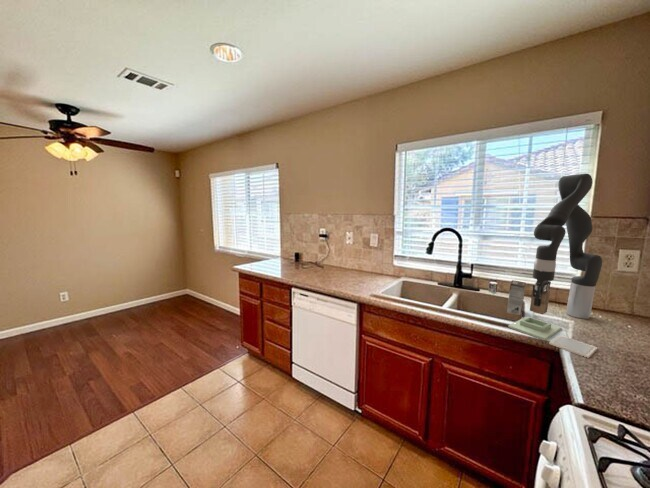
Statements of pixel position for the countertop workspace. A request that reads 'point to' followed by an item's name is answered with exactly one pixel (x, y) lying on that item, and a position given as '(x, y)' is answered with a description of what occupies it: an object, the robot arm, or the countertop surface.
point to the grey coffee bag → (516, 297)
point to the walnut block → (543, 304)
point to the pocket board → (535, 327)
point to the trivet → (573, 346)
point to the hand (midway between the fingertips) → (539, 304)
